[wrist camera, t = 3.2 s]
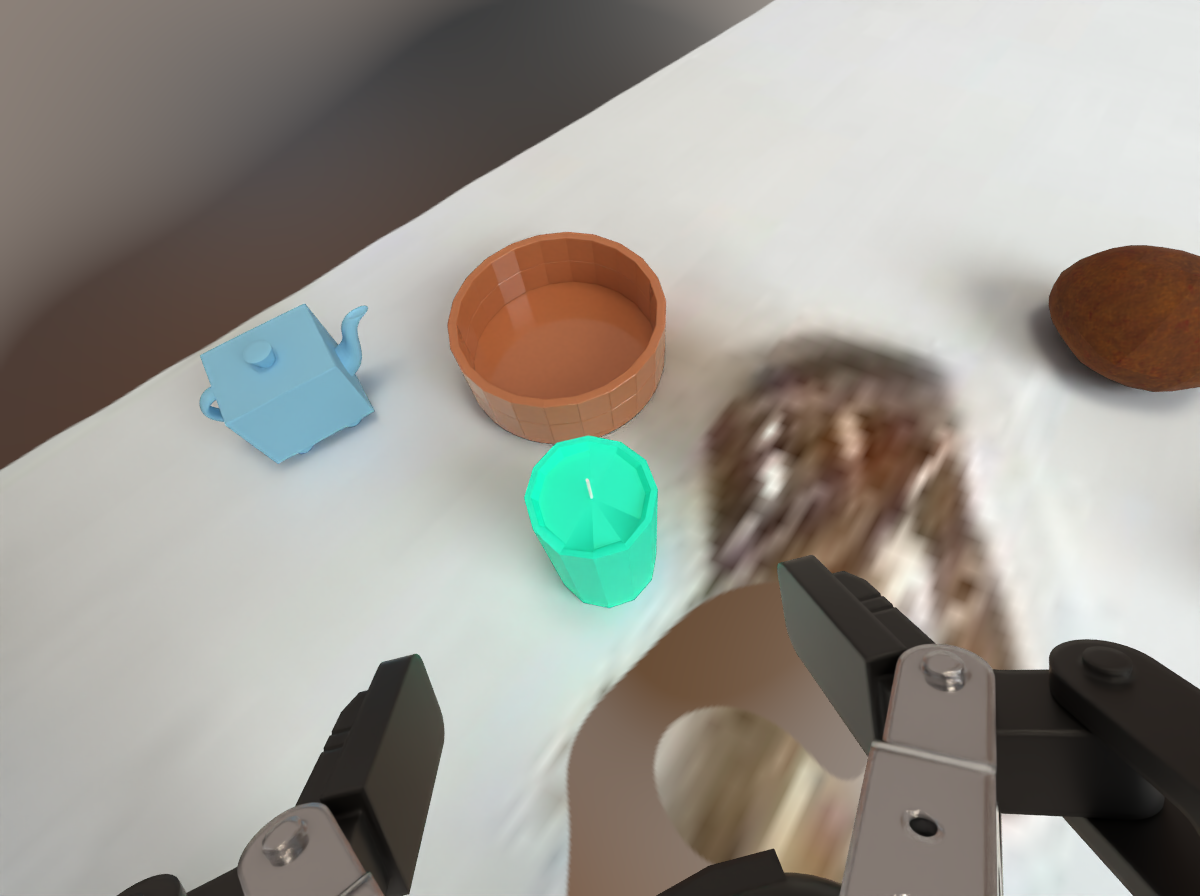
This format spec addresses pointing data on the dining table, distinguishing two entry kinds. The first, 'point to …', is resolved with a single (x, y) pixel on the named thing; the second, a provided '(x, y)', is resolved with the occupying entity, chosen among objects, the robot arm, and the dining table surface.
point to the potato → (1133, 316)
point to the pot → (560, 336)
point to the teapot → (287, 382)
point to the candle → (596, 518)
